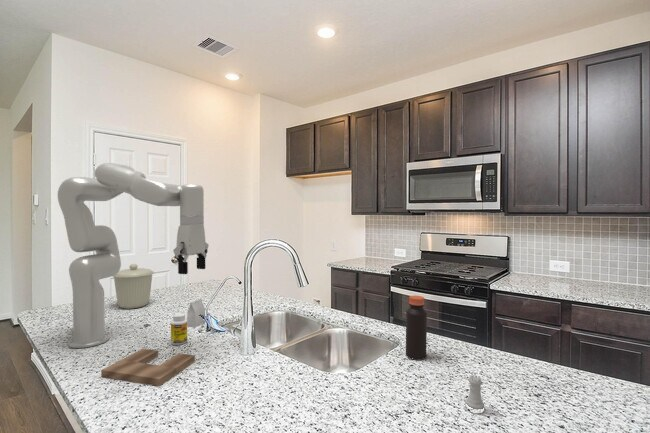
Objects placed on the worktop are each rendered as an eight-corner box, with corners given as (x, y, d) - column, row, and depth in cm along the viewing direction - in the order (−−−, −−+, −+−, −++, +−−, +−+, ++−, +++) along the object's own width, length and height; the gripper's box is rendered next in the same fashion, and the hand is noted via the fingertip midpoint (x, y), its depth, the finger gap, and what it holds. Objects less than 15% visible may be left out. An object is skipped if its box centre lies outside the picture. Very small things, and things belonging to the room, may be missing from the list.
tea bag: (204, 322, 149) (204, 299, 149) (195, 327, 143) (194, 303, 143) (197, 321, 150) (197, 298, 150) (187, 326, 144) (187, 302, 144)
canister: (129, 300, 183) (129, 260, 182) (161, 301, 180) (161, 261, 180) (103, 310, 165) (103, 266, 164) (138, 312, 162) (137, 267, 162)
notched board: (101, 376, 101) (101, 370, 101) (142, 354, 116) (142, 348, 116) (159, 386, 96) (159, 379, 96) (194, 361, 111) (194, 355, 111)
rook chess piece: (461, 404, 88) (462, 373, 88) (478, 403, 88) (479, 373, 88) (470, 415, 84) (471, 382, 83) (488, 414, 84) (489, 381, 84)
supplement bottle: (172, 346, 123) (172, 318, 123) (169, 341, 127) (169, 314, 127) (188, 343, 126) (188, 315, 126) (185, 338, 131) (185, 311, 130)
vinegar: (427, 354, 118) (428, 296, 118) (424, 362, 112) (425, 300, 112) (407, 350, 121) (408, 293, 121) (403, 358, 115) (404, 298, 114)
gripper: (198, 220, 127) (198, 266, 127) (164, 222, 110) (165, 275, 111) (216, 220, 125) (216, 267, 125) (184, 222, 108) (185, 276, 109)
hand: (192, 271), depth 118 cm, fingers open, 9 cm apart
